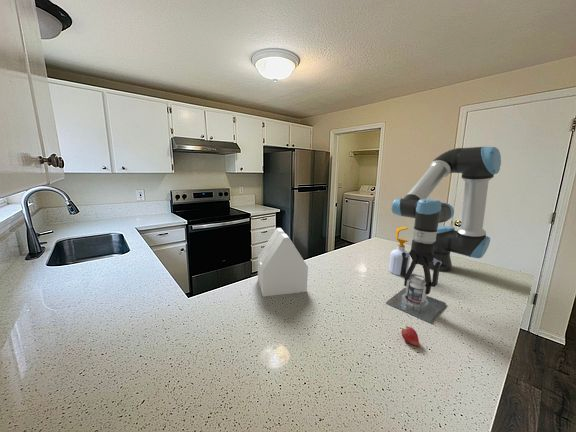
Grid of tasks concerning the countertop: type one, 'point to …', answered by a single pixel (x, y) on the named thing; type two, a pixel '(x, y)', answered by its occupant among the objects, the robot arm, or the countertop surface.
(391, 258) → the soap bottle
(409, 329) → the fruit
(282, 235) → the white toy house
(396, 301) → the duct plate
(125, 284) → the countertop surface
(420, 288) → the pill bottle
